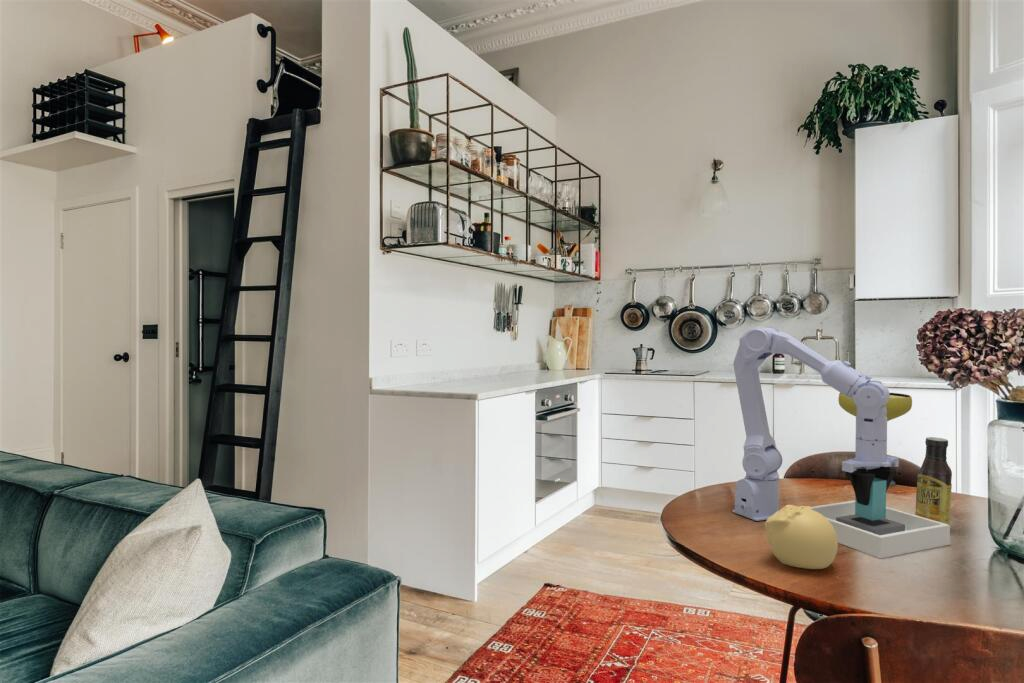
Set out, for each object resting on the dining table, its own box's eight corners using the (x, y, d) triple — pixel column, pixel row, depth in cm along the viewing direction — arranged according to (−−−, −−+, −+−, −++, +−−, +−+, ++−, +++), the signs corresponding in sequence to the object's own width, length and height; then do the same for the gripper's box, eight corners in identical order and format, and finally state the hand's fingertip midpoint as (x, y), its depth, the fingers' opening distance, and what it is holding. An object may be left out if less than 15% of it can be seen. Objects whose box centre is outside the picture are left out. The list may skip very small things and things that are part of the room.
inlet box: (880, 558, 117) (881, 537, 117) (796, 527, 136) (796, 509, 136) (949, 544, 125) (950, 525, 125) (860, 516, 143) (860, 499, 143)
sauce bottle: (908, 525, 137) (909, 436, 136) (928, 522, 139) (929, 434, 138) (937, 535, 131) (939, 441, 130) (957, 531, 133) (959, 439, 132)
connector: (872, 520, 127) (872, 482, 127) (855, 515, 131) (855, 477, 131) (885, 518, 129) (886, 480, 129) (868, 513, 133) (868, 476, 132)
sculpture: (783, 547, 123) (783, 494, 123) (847, 565, 114) (847, 507, 114) (755, 562, 115) (755, 505, 115) (821, 582, 106) (822, 520, 106)
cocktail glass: (830, 482, 175) (831, 394, 174) (845, 471, 189) (846, 389, 188) (905, 493, 163) (906, 399, 163) (915, 480, 177) (916, 393, 177)
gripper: (863, 444, 123) (863, 512, 124) (913, 439, 129) (912, 504, 129) (833, 438, 130) (832, 502, 130) (881, 434, 135) (880, 495, 136)
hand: (870, 502), depth 130 cm, fingers closed on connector, 4 cm apart
